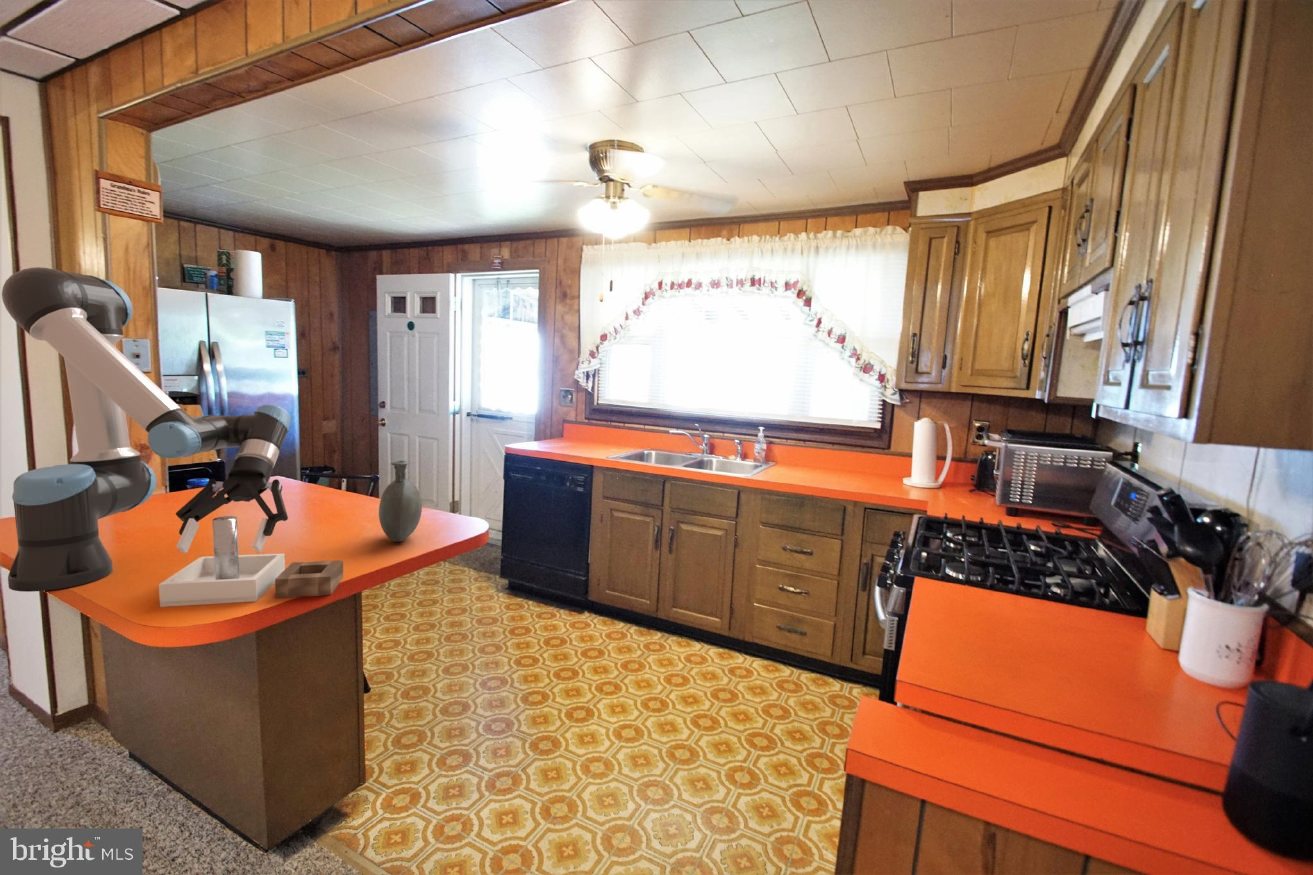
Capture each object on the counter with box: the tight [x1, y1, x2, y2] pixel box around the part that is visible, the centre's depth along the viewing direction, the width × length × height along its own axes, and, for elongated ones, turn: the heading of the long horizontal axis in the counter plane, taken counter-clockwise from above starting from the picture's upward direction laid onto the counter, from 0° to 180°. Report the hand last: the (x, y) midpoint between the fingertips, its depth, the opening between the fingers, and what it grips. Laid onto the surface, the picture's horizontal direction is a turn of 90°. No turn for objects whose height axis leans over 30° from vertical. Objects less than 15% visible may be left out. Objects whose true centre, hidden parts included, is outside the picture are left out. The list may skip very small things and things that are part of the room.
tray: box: [158, 553, 286, 608], centre depth 117 cm, size 16×16×4 cm
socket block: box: [274, 560, 344, 599], centre depth 120 cm, size 10×10×4 cm
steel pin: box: [212, 515, 240, 580], centre depth 117 cm, size 4×4×14 cm
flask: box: [378, 460, 423, 543], centre depth 153 cm, size 12×17×22 cm
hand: (219, 549), depth 114 cm, fingers open, 13 cm apart
